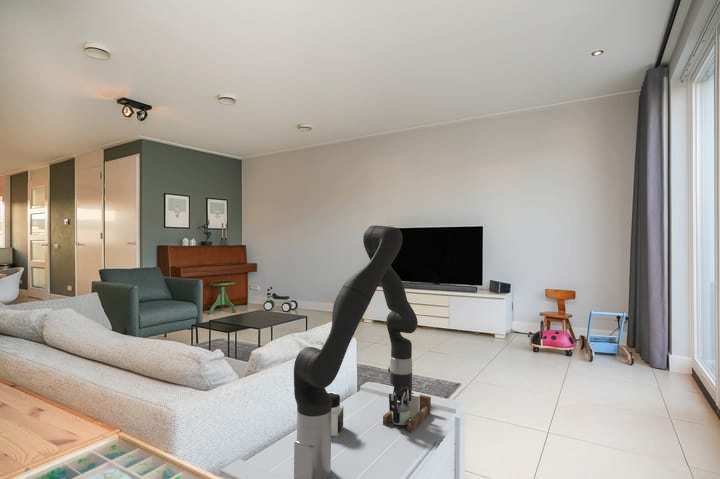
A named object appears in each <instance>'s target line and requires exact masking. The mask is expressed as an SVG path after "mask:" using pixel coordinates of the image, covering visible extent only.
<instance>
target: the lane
mask: <svg viewBox="0 0 720 479" xmlns="http://www.w3.org/2000/svg"><path fill="white" fill-rule="evenodd" d="M412 394H414V393H413V392H412ZM414 395H415V394H414ZM419 396H420V412H419V413H417V414H416V415H415V416H414V417H413V418H410V419H409V422H408V424H407V433H410V434H412V432H413V431H414V430H416V428H417V427H418V426H419V425H420V424H421V423H422V422H423V421H424V420H425V419H426V418H427V417H428V416H430V415H431V413H432V410H431V407H432V406H431V405H432V404H431V402H432V397H431V396H428V395H424V394H420V395H419ZM390 423H392V412H391V411H390V410H389V411H387V412H386V413H385V414H384V415H382V425H383V426H385V427H386V426H387V425H389V424H390Z"/></svg>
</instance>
